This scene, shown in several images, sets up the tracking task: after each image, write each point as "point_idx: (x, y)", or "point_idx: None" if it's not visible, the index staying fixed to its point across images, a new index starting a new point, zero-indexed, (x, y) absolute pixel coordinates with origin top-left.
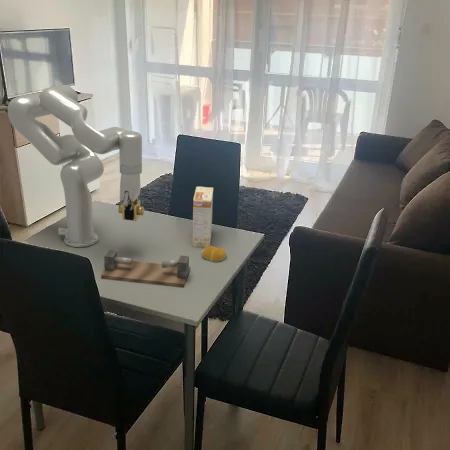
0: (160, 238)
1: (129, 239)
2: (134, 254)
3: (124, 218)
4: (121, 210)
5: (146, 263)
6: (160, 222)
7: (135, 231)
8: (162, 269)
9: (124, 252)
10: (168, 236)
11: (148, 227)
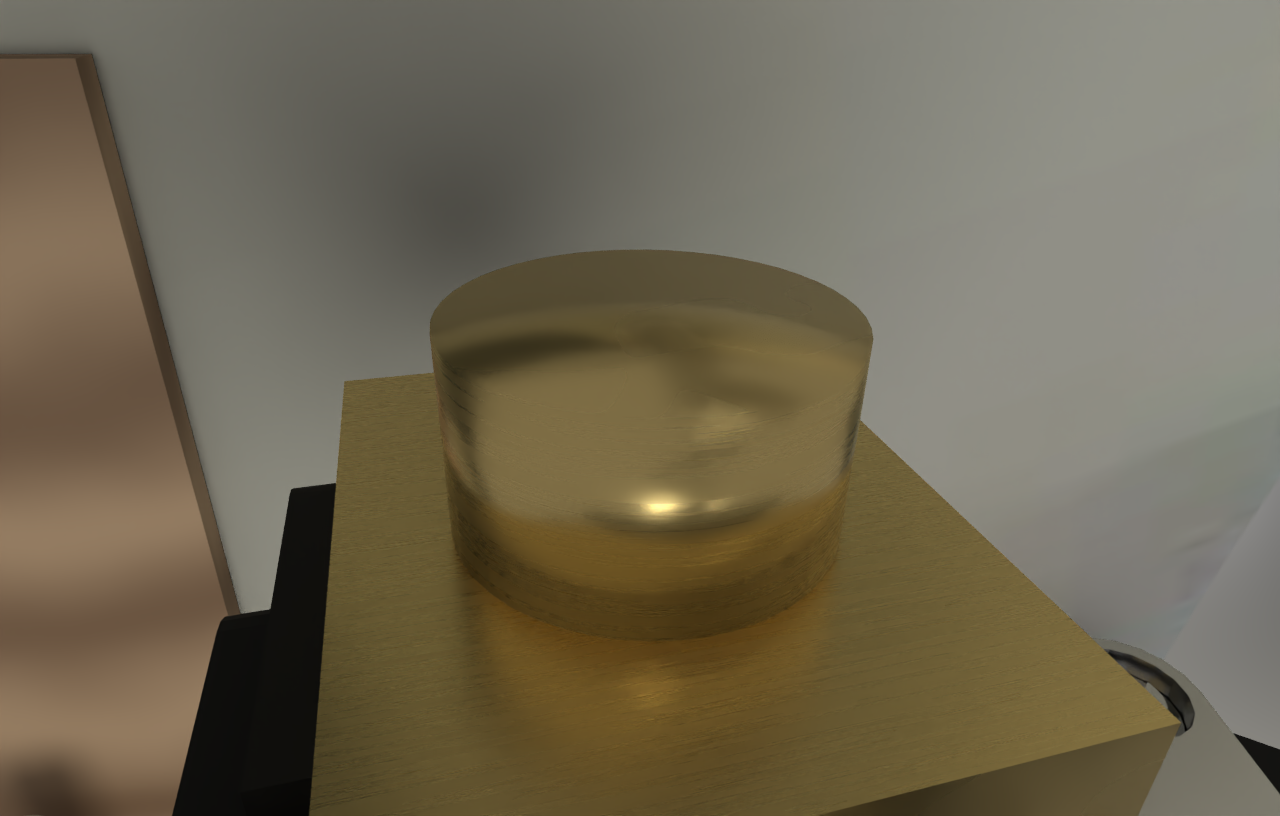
0: (896, 408)
1: (847, 66)
2: (442, 278)
3: (290, 498)
4: (444, 466)
5: (173, 541)
6: (1261, 280)
7: (1070, 70)
8: (116, 727)
9: (457, 128)
10: (943, 462)
11: (1160, 194)
